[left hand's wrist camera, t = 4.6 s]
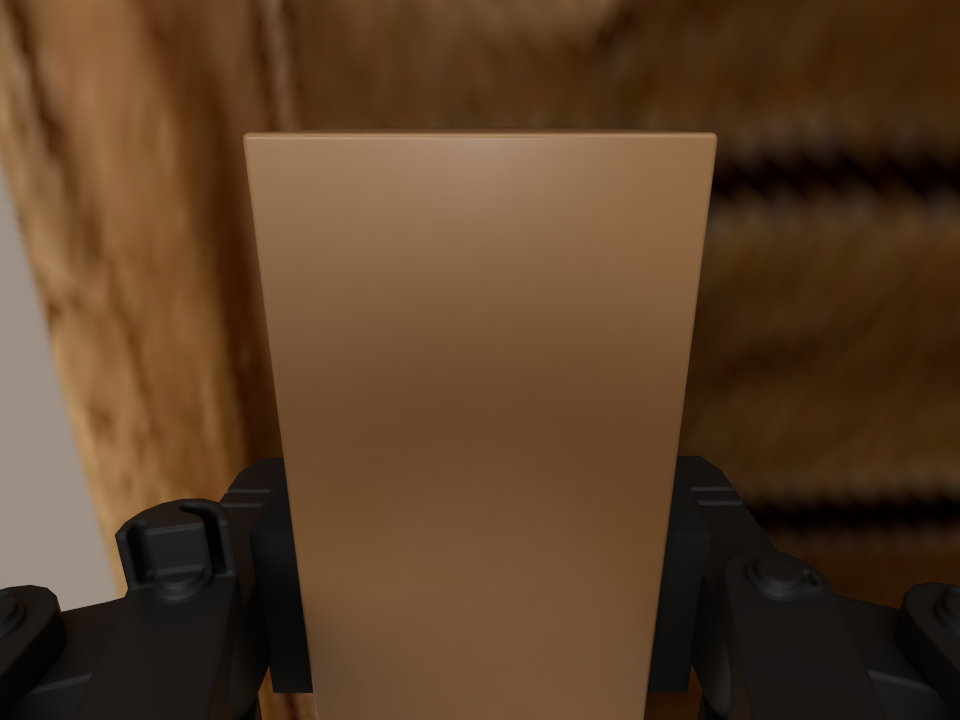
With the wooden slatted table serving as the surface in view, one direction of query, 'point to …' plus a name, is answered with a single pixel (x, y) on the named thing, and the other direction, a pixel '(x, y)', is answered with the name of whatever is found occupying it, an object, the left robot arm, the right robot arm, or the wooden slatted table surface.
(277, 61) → the wooden slatted table surface
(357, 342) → the beam
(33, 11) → the wooden slatted table surface
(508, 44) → the wooden slatted table surface
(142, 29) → the wooden slatted table surface
